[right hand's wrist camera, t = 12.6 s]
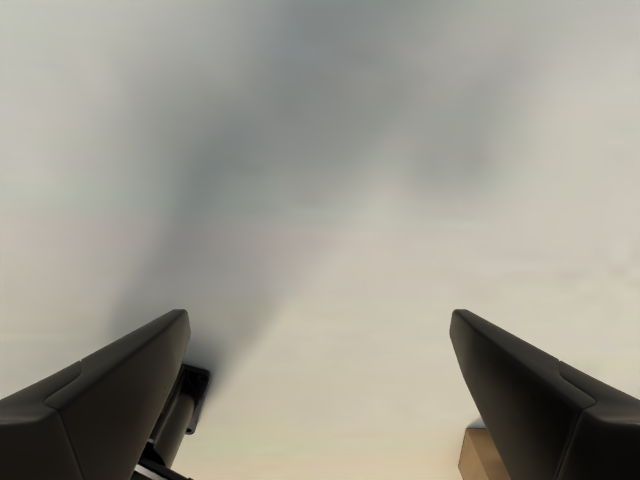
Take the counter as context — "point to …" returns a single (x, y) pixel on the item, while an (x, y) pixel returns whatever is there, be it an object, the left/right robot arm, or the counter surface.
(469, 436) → the brown wooden cube
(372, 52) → the counter surface
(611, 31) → the counter surface
